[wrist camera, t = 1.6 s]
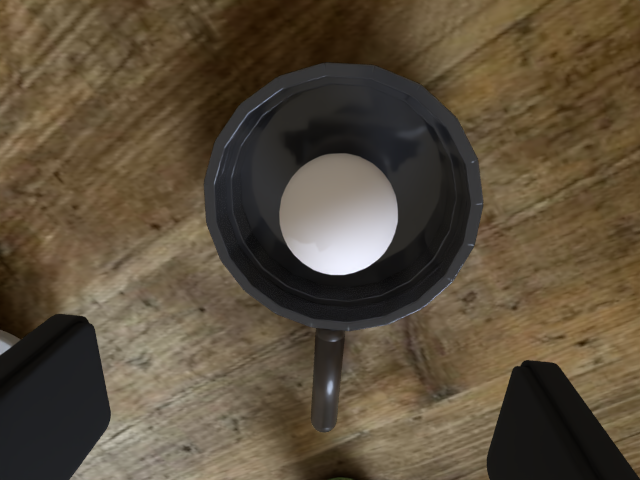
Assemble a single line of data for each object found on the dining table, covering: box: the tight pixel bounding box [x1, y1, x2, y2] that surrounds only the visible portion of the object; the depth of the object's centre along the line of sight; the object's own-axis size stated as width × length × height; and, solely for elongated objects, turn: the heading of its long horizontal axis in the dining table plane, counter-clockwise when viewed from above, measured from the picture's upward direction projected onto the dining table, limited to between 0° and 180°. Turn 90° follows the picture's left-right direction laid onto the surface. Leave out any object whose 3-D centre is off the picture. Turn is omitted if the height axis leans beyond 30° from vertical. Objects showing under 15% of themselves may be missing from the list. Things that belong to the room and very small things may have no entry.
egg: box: [279, 153, 398, 275], centre depth 20 cm, size 6×6×8 cm
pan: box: [204, 62, 483, 331], centre depth 22 cm, size 14×14×4 cm
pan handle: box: [311, 328, 345, 433], centre depth 25 cm, size 9×2×2 cm, turn 177°
